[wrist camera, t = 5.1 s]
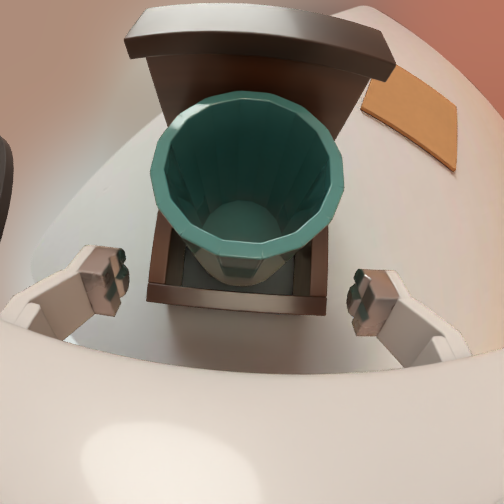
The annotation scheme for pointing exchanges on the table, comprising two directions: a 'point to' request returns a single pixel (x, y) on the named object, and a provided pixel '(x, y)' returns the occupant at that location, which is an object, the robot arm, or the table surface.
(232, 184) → the cup
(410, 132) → the mat
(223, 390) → the robot arm
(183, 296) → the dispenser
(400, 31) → the table surface
